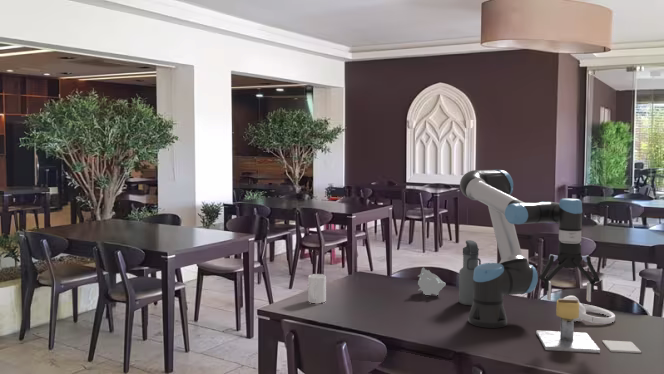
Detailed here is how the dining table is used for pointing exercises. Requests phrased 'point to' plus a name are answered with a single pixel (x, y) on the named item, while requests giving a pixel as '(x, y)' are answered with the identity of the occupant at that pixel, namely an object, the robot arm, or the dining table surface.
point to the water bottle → (468, 272)
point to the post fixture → (567, 339)
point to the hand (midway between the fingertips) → (568, 300)
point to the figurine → (430, 283)
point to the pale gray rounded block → (317, 288)
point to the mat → (621, 346)
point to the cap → (567, 308)
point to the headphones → (594, 309)
